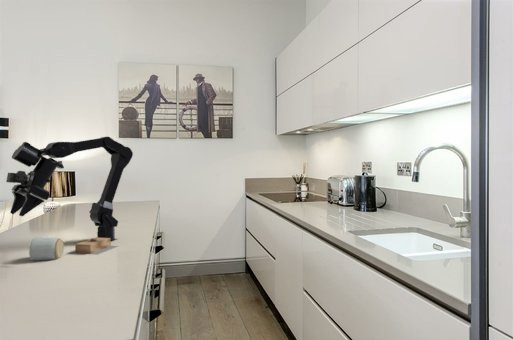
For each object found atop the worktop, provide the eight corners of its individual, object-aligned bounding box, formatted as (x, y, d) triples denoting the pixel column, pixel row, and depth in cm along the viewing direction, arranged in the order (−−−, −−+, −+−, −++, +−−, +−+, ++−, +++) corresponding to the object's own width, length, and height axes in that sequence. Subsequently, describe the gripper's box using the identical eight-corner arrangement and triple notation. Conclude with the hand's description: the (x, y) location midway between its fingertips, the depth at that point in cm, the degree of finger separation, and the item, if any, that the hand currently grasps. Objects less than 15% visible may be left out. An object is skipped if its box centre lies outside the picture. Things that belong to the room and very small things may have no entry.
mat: (90, 246, 133) (90, 244, 133) (118, 247, 131) (118, 246, 131) (66, 254, 122) (66, 252, 122) (97, 256, 119) (97, 254, 119)
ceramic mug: (57, 262, 112) (56, 238, 112) (28, 264, 111) (28, 239, 111) (68, 254, 123) (67, 232, 123) (42, 256, 121) (41, 233, 121)
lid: (96, 245, 132) (96, 235, 132) (110, 246, 131) (110, 235, 131) (75, 252, 122) (75, 241, 121) (90, 253, 120) (90, 242, 120)
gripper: (10, 162, 124) (-18, 202, 118) (28, 161, 112) (-2, 206, 106) (40, 177, 131) (16, 216, 125) (61, 178, 119) (35, 221, 113)
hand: (16, 214), depth 117 cm, fingers open, 9 cm apart
